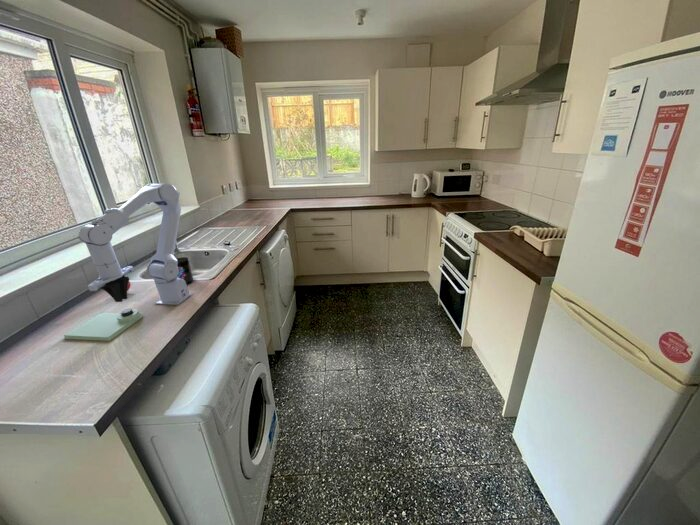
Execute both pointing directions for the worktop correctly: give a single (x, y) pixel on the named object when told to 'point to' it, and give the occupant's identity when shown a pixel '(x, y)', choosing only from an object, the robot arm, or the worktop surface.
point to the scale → (104, 326)
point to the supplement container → (184, 270)
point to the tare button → (126, 312)
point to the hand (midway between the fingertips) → (121, 300)
